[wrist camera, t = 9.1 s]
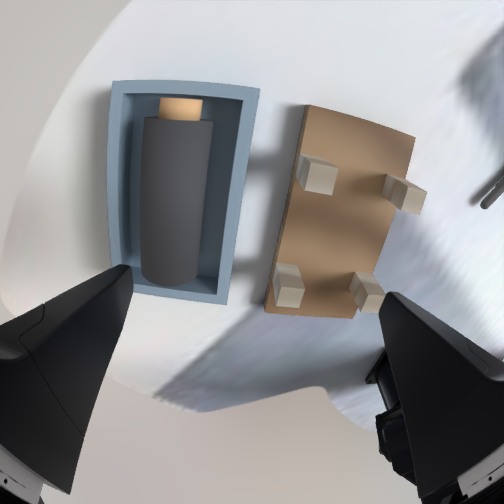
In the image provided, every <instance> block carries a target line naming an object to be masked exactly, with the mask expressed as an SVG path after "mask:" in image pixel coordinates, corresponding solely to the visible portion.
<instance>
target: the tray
mask: <svg viewBox="0 0 504 504" xmlns="http://www.w3.org/2000/svg"><path fill="white" fill-rule="evenodd" d="M259 93H260V89H259V88H252V87H245V86H238V85H229V84H220V83H209V82H196V81H178V80H123V81H113V82H112V90H111V99H110V110H109V123H108V140H107V211H108V229H109V243H110V254H111V263H112V267H114V266H116V265H118V264H125V265H130V266H131V268H132V274H133V284H134V290H133V292H135V293H141V294H148V295H154V296H161V297H168V298H175V299H182V300H190V301H197V302H205V303H213V304H222V305H227V300H228V292H229V285H230V278H231V271H232V264H233V257H234V250H235V243H236V237H237V230H238V223H239V217H240V210H241V203H242V197H243V190H244V184H245V178H246V171H247V165H248V159H249V153H250V146H251V140H252V134H253V128H254V122H255V116H256V110H257V104H258V99H259ZM160 98H183V99H196V100H203V102H202V109H201V116H200V119H205V120H211V121H214V124H213V131H212V139H211V146H210V154H209V162H208V170H207V179H206V188H205V197H204V207H203V217H202V228H201V239H200V251H199V265H198V274H197V276H196V277H195V279H193V280H192V281H191V282H189V283H187V284H184V285H180V286H172V287H168V286H160V285H156V284H153V283H151V282H149V281H148V280H146V279H145V278H144V277H143V275H142V273H141V258H140V171H141V152H142V138H143V126H144V118H145V117H156V116H158V115H159V106H160Z"/></svg>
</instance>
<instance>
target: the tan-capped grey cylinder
mask: <svg viewBox="0 0 504 504" xmlns="http://www.w3.org/2000/svg"><path fill="white" fill-rule="evenodd" d="M202 102H203V100H196V99H183V98H160V106H159V115H158V116H156V117H145V118H144V126H143V138H142V152H141V171H140V258H141V273H142V275H143V277H144V278H145V279H146V280H148V281H149V282H151V283H153V284H156V285H160V286H168V287H172V286H180V285H184V284H187V283H189V282H191V281H192V280H193V279H195V277H196V276H197V274H198V265H199V251H200V239H201V228H202V217H203V207H204V197H205V188H206V179H207V170H208V162H209V154H210V146H211V139H212V131H213V124H214V121H211V120H205V119H200V116H201V109H202Z"/></svg>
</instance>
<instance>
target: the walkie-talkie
mask: <svg viewBox="0 0 504 504" xmlns="http://www.w3.org/2000/svg"><path fill="white" fill-rule="evenodd" d="M503 192H504V177H503V178H502V179H501V180H500V181H499V182H498V183H497V184H496V186H495V188H494V189H493V190H492V191H491V192H490V193H489V194H488V195H487V196H486V197H485V198H484V199H483V201H482V202H481V204H480V206H481V208H482V209H487V208H488V207H489V206H490V205H491V204H492V203H493V202H494V201H495V200H496V199H497V198H498V197H499V196H500V195H501V194H502V193H503Z"/></svg>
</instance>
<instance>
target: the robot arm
mask: <svg viewBox="0 0 504 504" xmlns="http://www.w3.org/2000/svg"><path fill="white" fill-rule="evenodd" d="M133 290H134V284H133V274H132V268H131V266H130V265H125V264H118V265H116V266H114V267H112V268H110V269H108V270H106V271H104V272H102V273H100V274H98V275H96V276H94V277H92V278H90V279H89V280H87V281H85V282H83V283H81V284H79V285H77V286H75V287H73V288H71V289H69V290H67V291H66V292H64V293H62V294H60V295H58V296H56V297H54V298H52V299H51V300H49V301H47V302H45V304H41V305H39V306H38V307H36V308H34V309H32V310H30V311H28V312H27V313H25V314H23V315H21V316H19V317H16V318H14V319H13V320H10V321H8V322H6V323H4V324H2V325H0V504H44V502H43V500H42V498H41V496H40V493H41V490H42V486H43V483H44V484H47V485H48V486H51V487H53V488H55V489H57V490H60V491H62V492H64V493H66V494H70V492H71V488H72V484H73V480H74V475H75V471H76V467H77V463H78V459H79V455H80V452H81V448H82V444H83V441H84V438H83V437H85V433H86V430H87V427H88V423H89V420H90V417H91V414H92V410H93V408H94V404H95V402H96V398H97V396H98V393H99V390H100V387H101V384H102V381H103V378H104V375H105V373H106V370H107V367H108V365H109V362H110V359H111V357H112V354H113V352H114V349H115V347H116V344H117V342H118V339H119V337H120V334H121V331H122V329H123V325H124V322H125V318H126V315H127V311H128V308H129V305H130V301H131V298H132V295H133ZM379 319H380V324H381V328H382V333H383V338H384V343H385V347H386V349H385V351H384V352H383V354H382V356H381V357H380V359H379V360H378V362H377V363H376V365H375V366H374V368H373V369H372V371H371V372H370V374H369V375H368V377H367V378H366V380H365V381H366V384H374V383H377V385H378V388H379V390H380V393H381V396H382V398H383V401H384V404H385V407H386V410H387V411H385V412H384V413H382V414H378V415H376V416H375V417H376V428H377V434H378V439H379V452H380V454H382V455H384V456H385V457H386V459H387V460H388V461H389V462H390V463H391V462H392V466H393V470H394V471H395V472H396V473H397V474H399V475H400V476H402V477H404V478H405V479H407V480H408V481H410V482H411V483H413V484H414V485H415V486H417V491H418V496H419V498H421V501H422V504H504V362H503V361H501V360H500V359H498V358H496V357H495V356H493V355H492V354H490V353H489V352H487V351H485V350H484V349H482V348H481V347H479V346H478V345H476V344H475V343H474V342H472V341H471V340H469V339H468V338H466V337H465V336H463V335H462V334H460V333H459V332H458V331H456V330H455V329H453V328H452V327H450V326H449V325H447V324H446V323H444V322H443V321H441V320H440V319H438V318H437V317H435V316H434V315H432V314H431V313H429V312H428V311H426V310H425V309H423V308H422V307H420V306H419V305H417V304H415V303H414V302H412V301H411V300H409V299H408V298H406V297H405V296H403V295H402V294H400V293H398V292H388V293H387V294H386V295H385V298H384V300H383V302H382V304H381V307H380V309H379Z"/></svg>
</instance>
